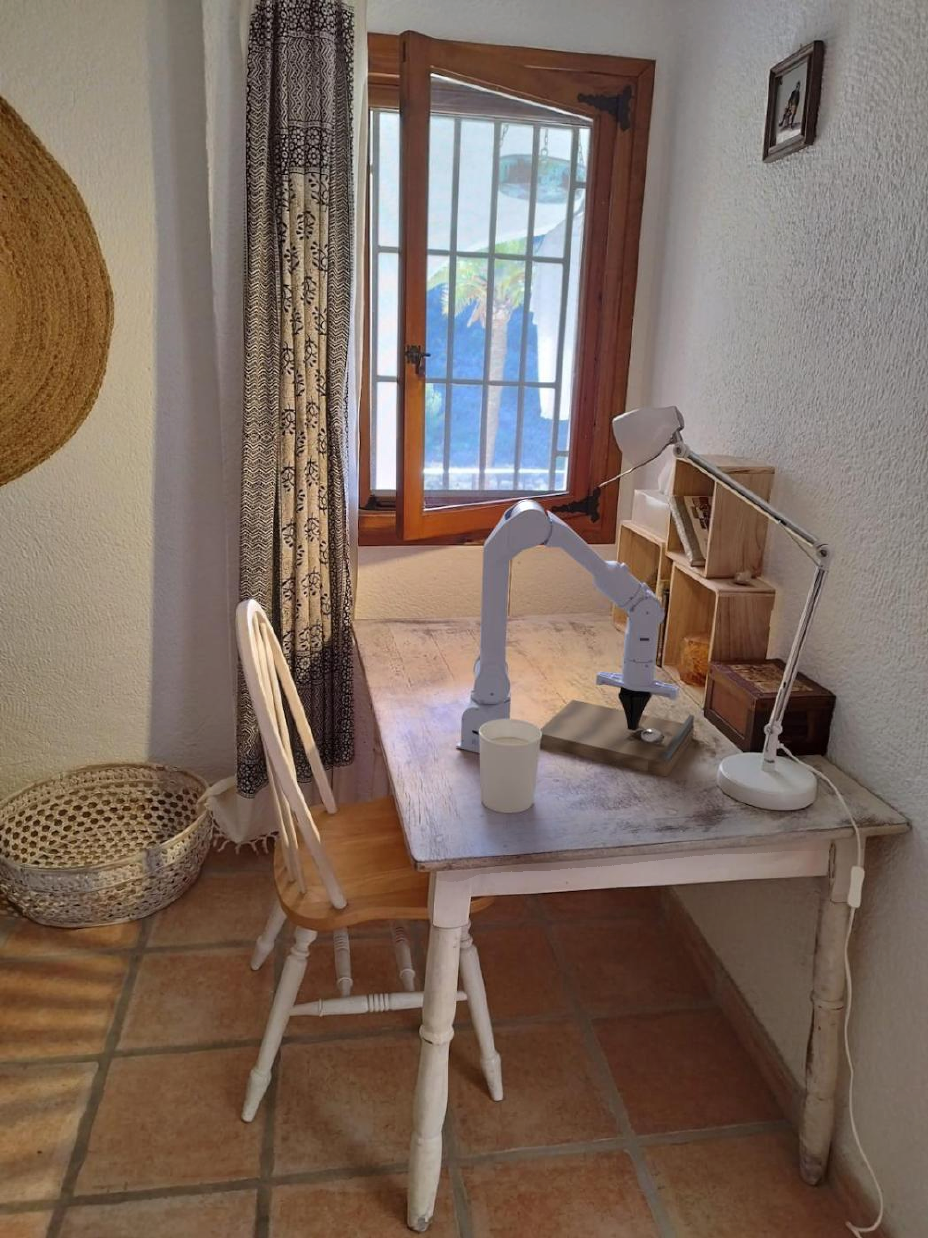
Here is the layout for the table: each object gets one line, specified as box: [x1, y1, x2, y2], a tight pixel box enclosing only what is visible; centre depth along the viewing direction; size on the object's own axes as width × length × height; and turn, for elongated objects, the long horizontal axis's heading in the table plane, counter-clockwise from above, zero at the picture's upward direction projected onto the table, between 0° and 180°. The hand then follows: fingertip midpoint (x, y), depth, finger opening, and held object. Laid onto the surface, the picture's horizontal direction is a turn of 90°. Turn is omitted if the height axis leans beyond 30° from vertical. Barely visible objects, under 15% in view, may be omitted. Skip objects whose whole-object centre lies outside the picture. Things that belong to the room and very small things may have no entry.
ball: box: [640, 728, 663, 743], centre depth 160 cm, size 4×4×4 cm
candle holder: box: [479, 718, 542, 814], centre depth 140 cm, size 10×10×12 cm
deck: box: [540, 699, 695, 778], centre depth 163 cm, size 24×18×4 cm
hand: (632, 728), depth 161 cm, fingers closed
